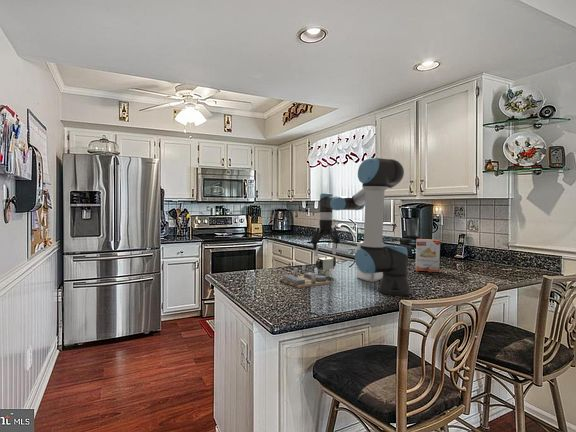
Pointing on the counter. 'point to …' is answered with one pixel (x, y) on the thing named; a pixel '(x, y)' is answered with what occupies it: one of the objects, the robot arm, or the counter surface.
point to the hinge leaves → (312, 276)
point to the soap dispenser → (368, 276)
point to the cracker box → (427, 255)
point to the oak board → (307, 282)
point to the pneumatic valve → (325, 265)
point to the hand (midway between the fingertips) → (325, 254)
